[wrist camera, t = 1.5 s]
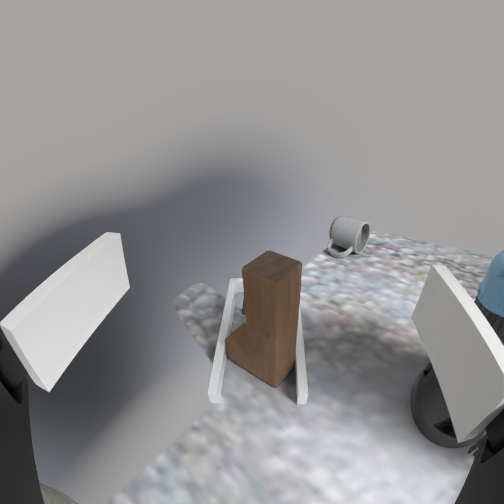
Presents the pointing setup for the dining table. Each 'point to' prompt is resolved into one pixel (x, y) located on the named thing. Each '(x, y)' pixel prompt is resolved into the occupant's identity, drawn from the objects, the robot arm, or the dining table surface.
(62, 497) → the jar
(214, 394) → the channel
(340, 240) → the ceramic mug
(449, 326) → the robot arm
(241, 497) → the dining table surface
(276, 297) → the wooden block
